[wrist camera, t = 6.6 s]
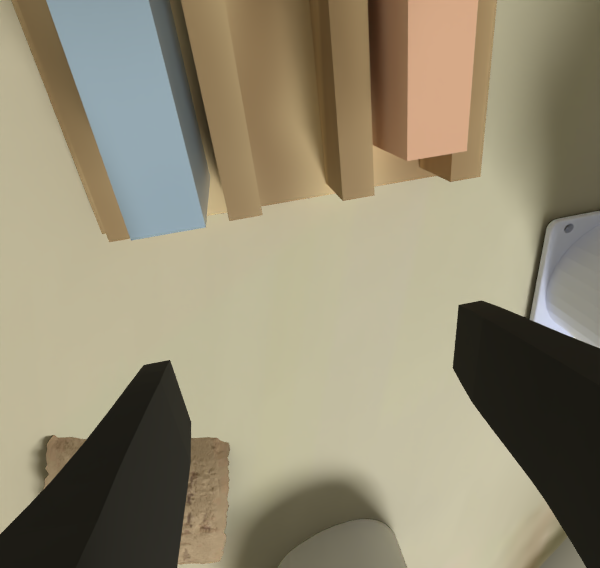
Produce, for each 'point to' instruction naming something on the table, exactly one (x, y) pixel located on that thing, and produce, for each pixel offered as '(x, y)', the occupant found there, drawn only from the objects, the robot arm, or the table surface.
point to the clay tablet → (199, 502)
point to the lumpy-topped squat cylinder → (348, 548)
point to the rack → (267, 103)
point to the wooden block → (421, 75)
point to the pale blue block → (138, 109)
